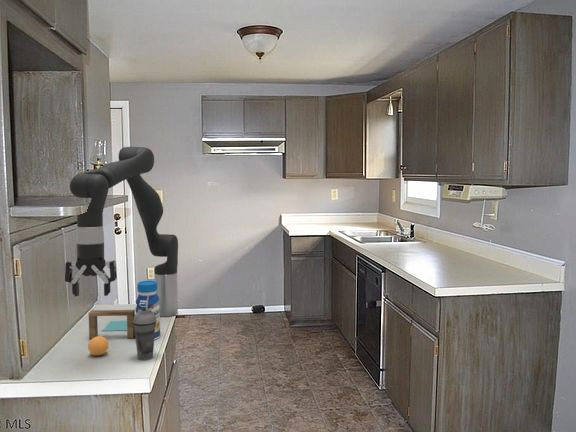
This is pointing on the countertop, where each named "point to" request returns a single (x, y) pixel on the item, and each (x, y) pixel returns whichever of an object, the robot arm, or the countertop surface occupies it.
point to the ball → (98, 345)
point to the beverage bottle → (149, 301)
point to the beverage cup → (144, 332)
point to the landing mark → (116, 326)
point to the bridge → (93, 315)
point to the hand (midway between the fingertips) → (91, 295)
